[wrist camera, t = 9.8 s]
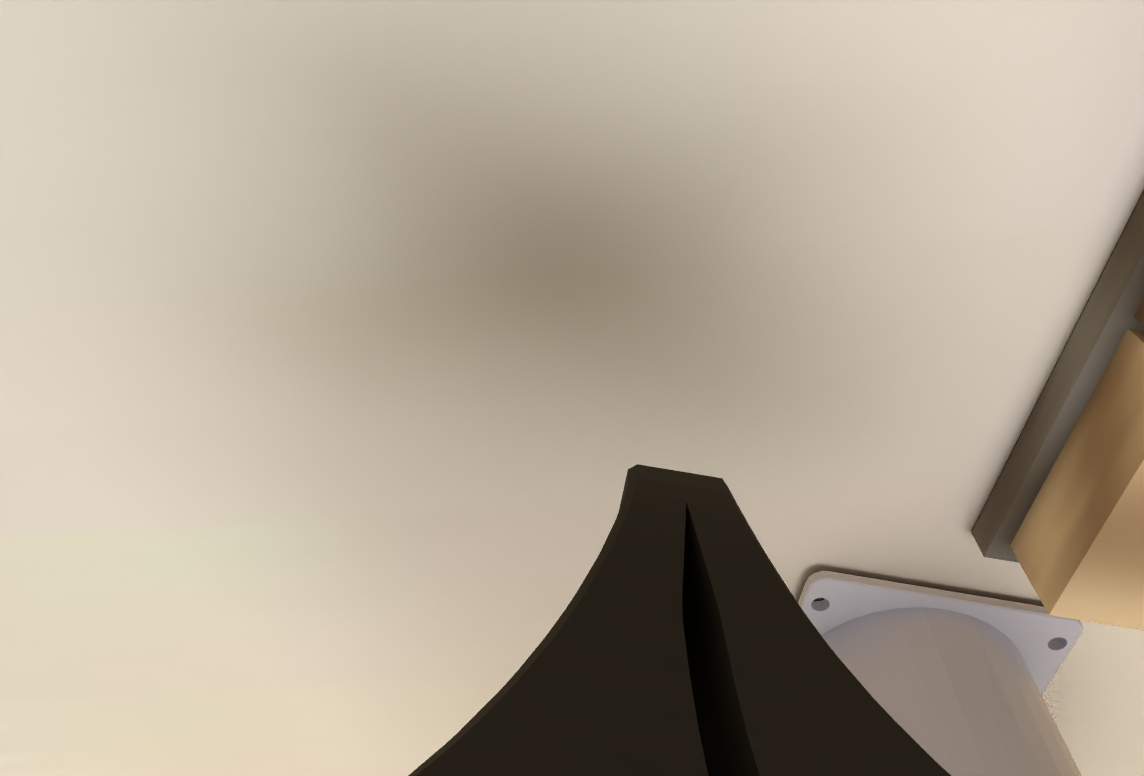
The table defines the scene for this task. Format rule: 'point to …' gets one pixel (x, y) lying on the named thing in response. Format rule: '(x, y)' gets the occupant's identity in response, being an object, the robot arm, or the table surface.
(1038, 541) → the wooden board with knob
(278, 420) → the table surface
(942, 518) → the table surface
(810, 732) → the robot arm
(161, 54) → the table surface
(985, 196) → the table surface
